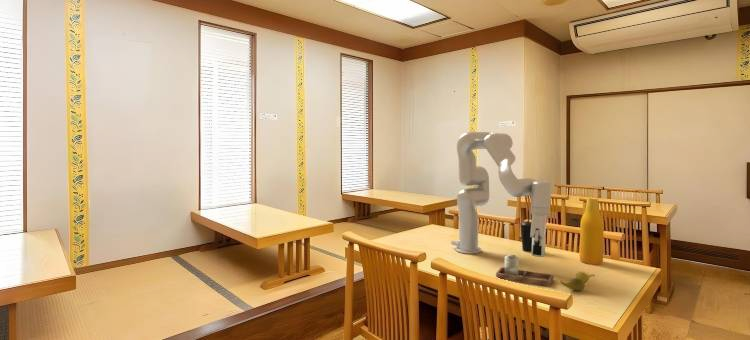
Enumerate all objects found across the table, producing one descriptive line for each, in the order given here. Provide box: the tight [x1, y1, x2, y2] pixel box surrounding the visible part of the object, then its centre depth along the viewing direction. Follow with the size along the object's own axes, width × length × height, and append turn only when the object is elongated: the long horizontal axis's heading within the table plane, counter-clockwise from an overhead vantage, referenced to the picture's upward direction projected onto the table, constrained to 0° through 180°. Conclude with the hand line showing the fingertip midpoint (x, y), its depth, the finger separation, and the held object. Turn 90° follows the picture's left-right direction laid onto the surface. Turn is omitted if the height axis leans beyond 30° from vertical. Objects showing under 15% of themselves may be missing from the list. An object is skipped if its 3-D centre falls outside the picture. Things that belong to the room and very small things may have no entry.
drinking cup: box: [519, 210, 532, 253], centre depth 194 cm, size 8×8×20 cm
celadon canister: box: [530, 235, 547, 258], centre depth 163 cm, size 5×5×9 cm
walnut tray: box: [495, 253, 554, 288], centre depth 154 cm, size 20×9×9 cm, turn 59°
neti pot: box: [559, 271, 596, 291], centre depth 142 cm, size 4×15×6 cm, turn 104°
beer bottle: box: [579, 197, 605, 266], centre depth 174 cm, size 9×9×29 cm
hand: (538, 252), depth 163 cm, fingers closed on celadon canister, 5 cm apart
